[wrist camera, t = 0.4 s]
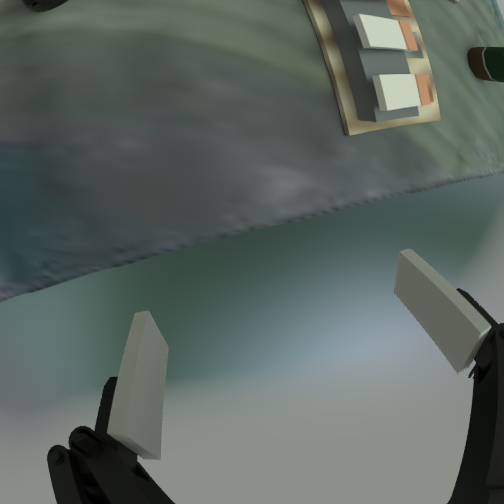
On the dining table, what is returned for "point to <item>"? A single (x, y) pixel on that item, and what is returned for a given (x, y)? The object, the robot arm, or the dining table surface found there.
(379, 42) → the switch middle
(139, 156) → the dining table surface
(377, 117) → the switch housing
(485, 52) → the beer bottle
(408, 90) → the switch
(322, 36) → the switch board
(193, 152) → the dining table surface
